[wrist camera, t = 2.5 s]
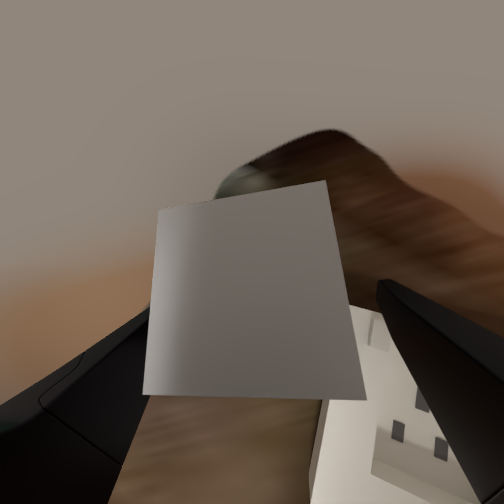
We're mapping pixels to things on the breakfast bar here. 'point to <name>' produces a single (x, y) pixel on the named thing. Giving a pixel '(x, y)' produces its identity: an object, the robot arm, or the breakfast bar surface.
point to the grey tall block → (251, 300)
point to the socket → (383, 436)
